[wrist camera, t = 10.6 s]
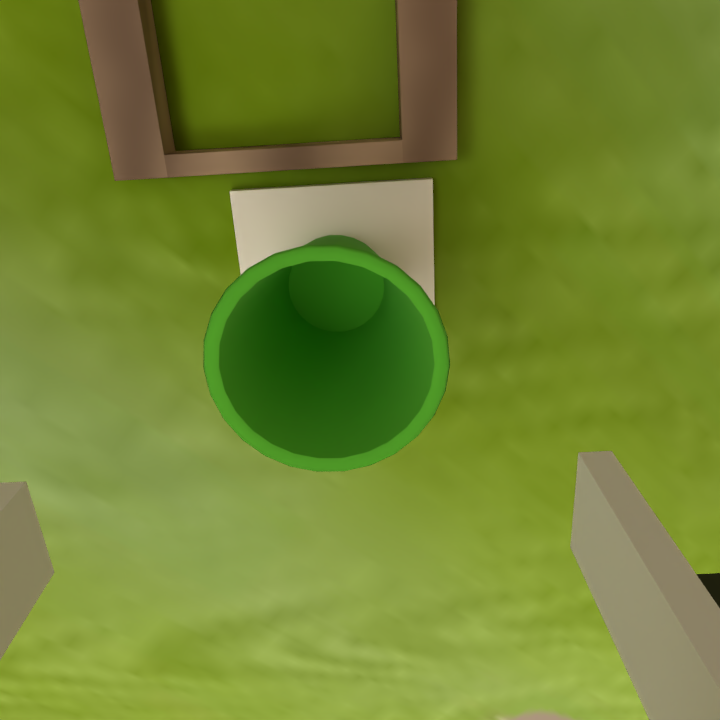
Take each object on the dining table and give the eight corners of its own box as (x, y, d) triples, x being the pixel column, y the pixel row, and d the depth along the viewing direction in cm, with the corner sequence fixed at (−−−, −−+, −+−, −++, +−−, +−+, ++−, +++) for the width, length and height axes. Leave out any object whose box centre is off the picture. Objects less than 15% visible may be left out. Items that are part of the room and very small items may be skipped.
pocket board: (129, 174, 32) (114, 180, 30) (67, -145, 27) (45, -162, 25) (451, 155, 32) (457, 159, 30) (450, -174, 27) (456, -193, 25)
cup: (459, 287, 34) (500, 375, 24) (333, 393, 36) (322, 513, 26) (341, 155, 31) (331, 189, 21) (213, 278, 34) (149, 362, 23)
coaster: (256, 371, 36) (254, 375, 36) (231, 189, 32) (229, 191, 32) (434, 361, 36) (435, 366, 36) (431, 177, 32) (432, 179, 32)
